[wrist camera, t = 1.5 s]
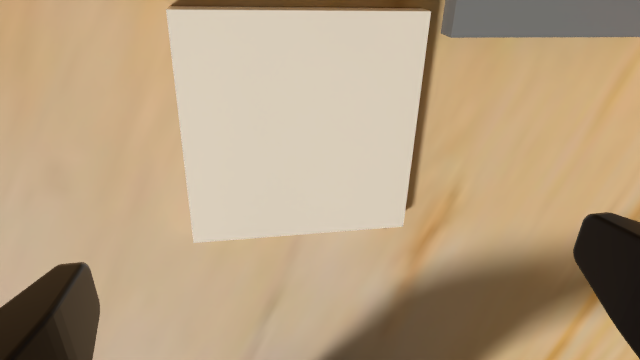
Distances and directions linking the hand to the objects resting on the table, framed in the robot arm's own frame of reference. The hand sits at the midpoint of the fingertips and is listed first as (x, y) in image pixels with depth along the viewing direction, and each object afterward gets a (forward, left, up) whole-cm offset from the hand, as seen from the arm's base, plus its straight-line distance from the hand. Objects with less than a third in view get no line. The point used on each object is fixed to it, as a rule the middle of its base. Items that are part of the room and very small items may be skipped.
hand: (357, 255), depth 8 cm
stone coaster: (-2, -1, -13) cm, 13 cm away
